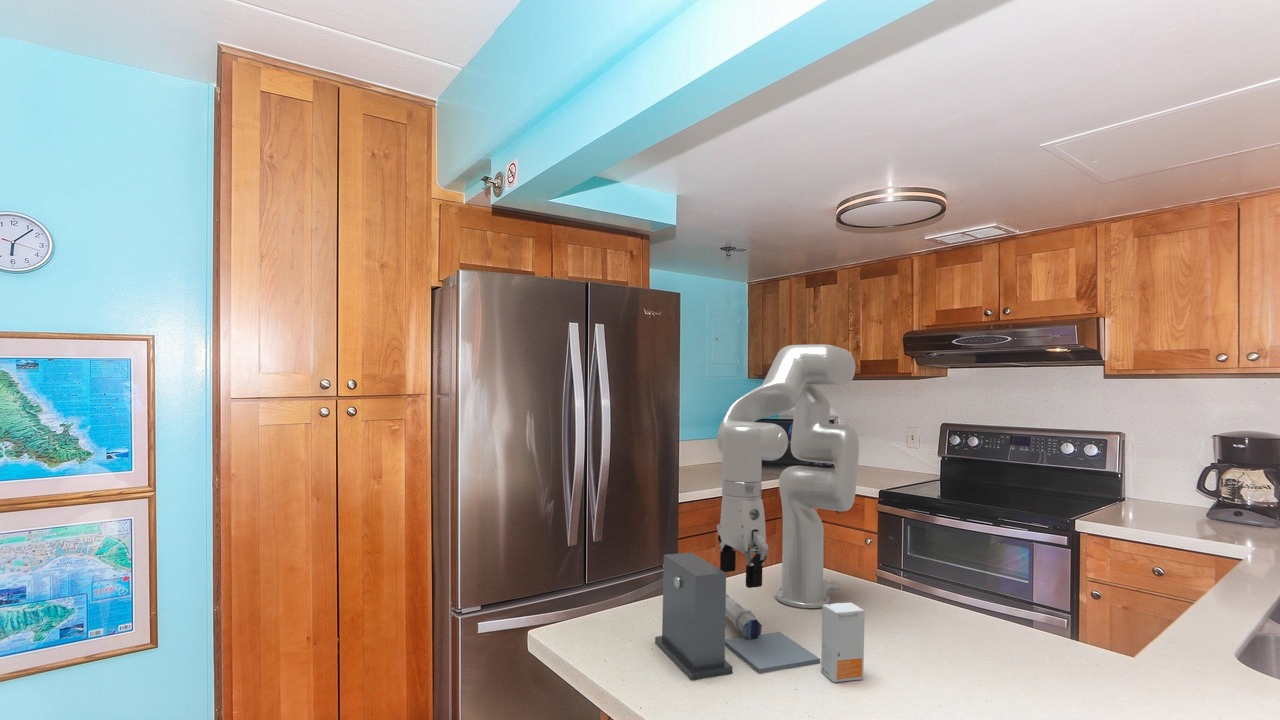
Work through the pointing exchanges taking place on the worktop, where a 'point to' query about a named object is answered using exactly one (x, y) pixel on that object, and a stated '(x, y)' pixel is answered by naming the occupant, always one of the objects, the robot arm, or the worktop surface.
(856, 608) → the skincare box
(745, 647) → the slate mat
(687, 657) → the mounted unit
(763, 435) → the robot arm
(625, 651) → the worktop surface
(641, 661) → the worktop surface
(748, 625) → the white elongated piece
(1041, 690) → the worktop surface
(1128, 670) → the worktop surface
